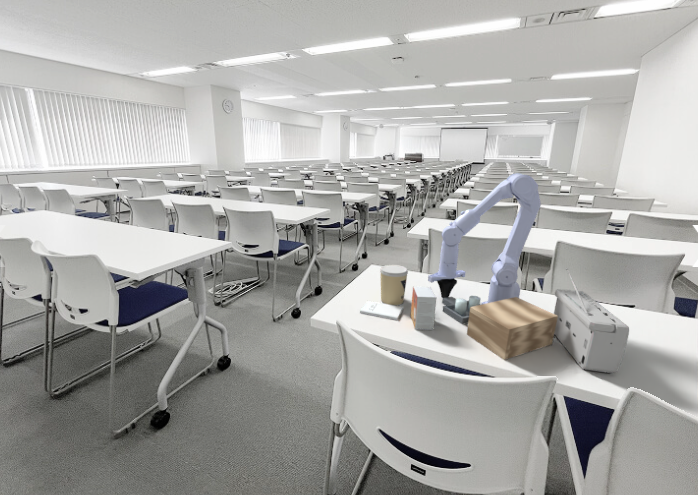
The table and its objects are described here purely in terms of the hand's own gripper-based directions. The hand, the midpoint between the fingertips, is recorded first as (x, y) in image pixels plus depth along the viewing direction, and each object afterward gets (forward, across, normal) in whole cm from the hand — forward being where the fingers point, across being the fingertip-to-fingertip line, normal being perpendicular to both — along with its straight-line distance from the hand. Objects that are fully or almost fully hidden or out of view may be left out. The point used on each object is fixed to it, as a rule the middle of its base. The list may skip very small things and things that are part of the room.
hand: (444, 298), depth 115 cm
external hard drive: (+2, +24, -2) cm, 24 cm away
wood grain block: (+1, 0, +27) cm, 27 cm away
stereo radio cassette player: (+1, -13, +38) cm, 40 cm away
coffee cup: (+1, +17, -7) cm, 19 cm away
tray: (+1, 0, +8) cm, 8 cm away
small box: (+1, +17, +10) cm, 20 cm away
